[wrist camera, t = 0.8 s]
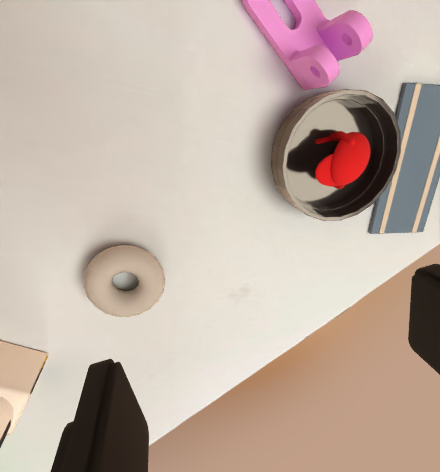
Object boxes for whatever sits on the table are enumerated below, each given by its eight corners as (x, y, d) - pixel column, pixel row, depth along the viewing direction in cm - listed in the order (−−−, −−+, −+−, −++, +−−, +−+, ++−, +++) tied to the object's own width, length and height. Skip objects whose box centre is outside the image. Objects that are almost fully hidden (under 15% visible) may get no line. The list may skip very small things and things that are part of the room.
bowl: (277, 88, 36) (291, 85, 32) (389, 95, 38) (415, 93, 35) (265, 212, 41) (276, 222, 37) (364, 210, 44) (384, 219, 40)
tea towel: (403, 83, 38) (407, 82, 38) (462, 87, 40) (467, 87, 39) (368, 232, 45) (371, 234, 45) (420, 230, 47) (423, 232, 47)
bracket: (339, 53, 35) (379, 40, 29) (303, 90, 36) (334, 85, 30) (269, -58, 30) (299, -103, 24) (229, -12, 31) (248, -45, 25)
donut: (154, 312, 44) (173, 250, 41) (153, 327, 41) (175, 263, 37) (80, 299, 41) (95, 232, 38) (73, 315, 38) (89, 243, 35)
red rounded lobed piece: (341, 115, 38) (372, 116, 32) (361, 154, 40) (394, 160, 35) (290, 158, 39) (312, 165, 33) (313, 193, 41) (337, 205, 35)
